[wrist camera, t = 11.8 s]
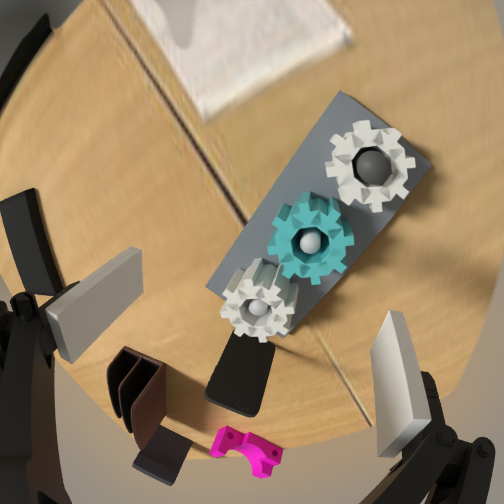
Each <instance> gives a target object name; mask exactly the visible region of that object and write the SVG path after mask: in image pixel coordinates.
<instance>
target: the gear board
mask: <svg viewBox="0 0 504 504" xmlns="http://www.w3.org/2000/svg"><path fill="white" fill-rule="evenodd" d="M401 135H402V134H401V133H400V132H399V131H397V130H396V129H395V128H390V127H389V126H388V125H386V124H385V123H384V122H383V121H381V120H380V119H379V118H378V117H376V116H375V115H374V114H372V113H371V112H370V111H368V110H367V109H366V108H364V107H363V106H362V105H360V104H359V103H358V102H356V101H355V100H353V99H352V98H351V97H349V96H348V95H346V94H345V93H343V92H342V91H339V92H338V93H337V95H336V96H335V98H334V99H333V100H332V102H331V103H330V105H329V106H328V107H327V109H326V110H325V112H324V113H323V114H322V116H321V117H320V119H319V120H318V122H317V123H316V124H315V126H314V127H313V129H312V130H311V131H310V133H309V134H308V136H307V137H306V139H305V140H304V141H303V143H302V144H301V146H300V147H299V149H298V150H297V151H296V153H295V154H294V156H293V157H292V159H291V160H290V162H289V163H288V164H287V166H286V167H285V169H284V170H283V172H282V173H281V175H280V176H279V178H278V179H277V180H276V182H275V183H274V185H273V186H272V188H271V189H270V191H269V192H268V194H267V195H266V197H265V198H264V199H263V201H262V202H261V204H260V205H259V207H258V208H257V210H256V211H255V213H254V214H253V216H252V217H251V219H250V220H249V222H248V223H247V225H246V226H245V228H244V229H243V231H242V232H241V234H240V235H239V237H238V238H237V240H236V241H235V243H234V244H233V246H232V247H231V249H230V250H229V252H228V253H227V255H226V256H225V258H224V259H223V261H222V262H221V264H220V265H219V267H218V268H217V270H216V271H215V273H214V274H213V276H212V277H211V279H210V280H209V282H208V283H207V285H206V286H205V287H206V288H208V289H209V290H211V291H212V292H214V293H215V294H217V295H218V296H220V297H221V298H222V299H224V300H225V303H224V305H223V307H222V308H221V310H220V314H221V317H222V318H229V319H230V322H231V324H232V325H233V326H235V327H236V329H235V331H234V333H235V334H236V335H238V336H239V337H241V336H242V334H243V333H246V334H247V335H249V336H250V337H257V336H258V338H259V342H267V341H268V337H269V336H274V335H275V334H277V335H279V336H280V337H282V338H284V337H285V336H286V335H287V334H288V333H289V332H290V331H291V330H292V329H293V328H294V327H295V326H296V325H297V324H298V323H299V322H300V321H301V320H302V319H303V318H304V317H305V316H306V315H307V314H308V313H309V312H310V311H311V310H312V309H313V308H314V306H315V305H316V304H317V303H318V302H319V301H320V300H321V299H322V298H323V297H324V296H325V295H326V294H327V293H328V291H329V290H330V289H331V288H332V287H333V286H334V285H335V284H336V283H337V282H338V280H339V279H340V278H341V277H342V276H343V275H344V274H345V273H346V271H347V270H348V269H349V268H350V267H351V266H352V265H353V263H354V262H355V261H356V260H357V259H358V258H359V257H360V255H361V254H362V253H363V252H364V251H365V250H366V248H367V247H368V246H369V245H370V244H371V242H372V241H373V240H374V239H375V238H376V236H377V235H378V234H379V233H380V232H381V230H382V229H383V228H384V227H385V225H386V224H387V223H388V222H389V220H390V219H391V218H392V217H393V215H394V214H395V213H396V212H397V210H398V209H399V208H400V207H401V205H402V204H403V203H404V201H405V200H406V199H407V197H408V196H409V195H410V194H411V192H412V191H413V190H414V188H415V187H416V186H417V184H418V183H419V182H420V180H421V179H422V177H423V176H424V175H425V173H426V172H427V171H428V169H429V168H430V166H431V165H432V164H431V163H430V162H429V161H428V160H427V159H425V158H424V157H423V156H422V155H421V154H420V153H419V152H418V151H417V150H416V149H415V148H413V147H412V146H411V145H410V144H409V143H408V142H407V141H406V140H404V139H403V138H402V137H401ZM309 191H310V193H311V198H312V199H318V198H320V199H321V200H323V201H324V202H326V203H327V202H328V200H329V199H330V198H331V197H332V198H334V199H335V200H336V201H338V204H339V208H340V212H341V215H340V217H341V221H342V220H349V223H350V226H351V229H352V233H353V237H354V245H350V246H345V251H346V255H345V257H346V263H347V268H346V269H345V270H344V271H343V272H342V273H340V272H338V271H337V270H336V269H333V270H332V272H331V273H330V274H329V275H324V276H321V284H317V285H312V284H311V277H306V278H301V277H299V276H298V275H297V274H295V273H294V274H293V275H292V276H291V278H290V279H288V278H286V277H285V276H284V275H282V272H283V268H284V265H282V264H281V263H279V258H278V254H275V255H269V254H268V249H267V246H268V244H269V241H270V239H271V237H272V235H273V233H274V231H275V229H278V228H277V227H275V226H274V225H272V223H273V221H274V219H275V217H276V215H277V213H278V212H279V210H280V208H281V207H282V206H283V204H286V205H287V206H288V207H290V208H291V207H292V206H293V204H294V203H295V202H297V201H299V200H300V197H301V194H302V192H309ZM326 236H327V235H326V234H325V233H324V232H322V231H321V230H320V229H318V228H317V227H308V228H301V229H299V230H298V231H297V237H299V238H300V239H301V241H300V247H301V249H302V250H303V251H304V252H305V253H308V254H313V253H316V252H317V251H318V250H319V248H320V243H321V242H322V241H323V240H324V238H325V237H326Z"/></svg>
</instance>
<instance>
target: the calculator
mask: <svg viewBox="0 0 504 504" xmlns="http://www.w3.org/2000/svg"><path fill="white" fill-rule="evenodd" d="M191 445H192V441H191V440H189V439H187V438H185V437H183V436H181V435H179V434H177V433H175V432H173V431H171V430H169V429H167V428H165V427H163V426H161V425H159V426H158V428H157V429H156V431H155V433H154V434H153V436H152V437H151V439H150V440H149V442H148V443H147V445H146V446H145V448H144V449H143V450H140V452H139V453H138V455H137V457H136V459H135V460H134V462H133V465H132V467H133V468H135V469H137V470H139V471H140V472H142V473H144V474H146V475H148V476H150V477H152V478H154V479H156V480H158V481H161V482H162V483H165V484H167V485H169V486H172V485H173V484H174V482H175V480H176V478H177V476H178V473H179V471H180V468H181V466H182V464H183V462H184V460H185V458H186V456H187V453H188V451H189V449H190V447H191Z"/></svg>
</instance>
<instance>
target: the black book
mask: <svg viewBox="0 0 504 504" xmlns="http://www.w3.org/2000/svg"><path fill="white" fill-rule="evenodd" d="M0 212H1V216H2V220H3V224H4V228H5V231H6V235H7V238H8V242H9V245H10V248H11V251H12V255H13V258H14V261H15V264H16V266H17V269H18V272H19V275H20V277H21V280H22V283H23V285H24V288H25V290H26V292H31V293H33V294H38V295H47V296H55V295H57V294H58V293H59V292H60V291H62V290H63V286H62V284H61V281H60V278H59V276H58V273H57V270H56V267H55V264H54V261H53V258H52V255H51V252H50V249H49V245H48V242H47V239H46V235H45V232H44V228H43V224H42V221H41V217H40V213H39V209H38V204H37V200H36V196H35V191H34V188H31V189H28V190H25V191H23V192H20V193H18V194H16V195H14V196H11V197H9V198H7V199H5V200H2V201H0Z"/></svg>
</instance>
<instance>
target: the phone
mask: <svg viewBox="0 0 504 504" xmlns="http://www.w3.org/2000/svg"><path fill="white" fill-rule="evenodd" d="M234 331H235V330H234ZM234 331H233V332H232V334H231V336H230V338H229V340H228V343H227V345H226V347H225V349H224V351H223V353H222V356H221V358H220V360H219V362H218V364H217V365H216V367H215V369H214V372H213V374H212V376H211V379H210V381H209V382H208V385H207V387H206V390H205V392H204V396H205V398H206V399H207V400H208V401H210V402H212V403H214V404H216V405H219V406H221V407H223V408H226V409H228V410H231V411H233V412H236V413H238V414H241V415H243V416H246V417H255V416H256V415H257V413H258V412H259V409H260V406H261V402H262V399H263V395H264V391H265V388H266V384H267V380H268V376H269V372H270V369H271V365H272V361H273V357H274V353H275V346H274V345H273V344H272V343H271V342H269V341H267V342H259V338H258V337H250V336H249V335H247V334H246V333H243V334H242V336H241V337H239V336H238V335H236V334H235V333H234Z"/></svg>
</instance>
